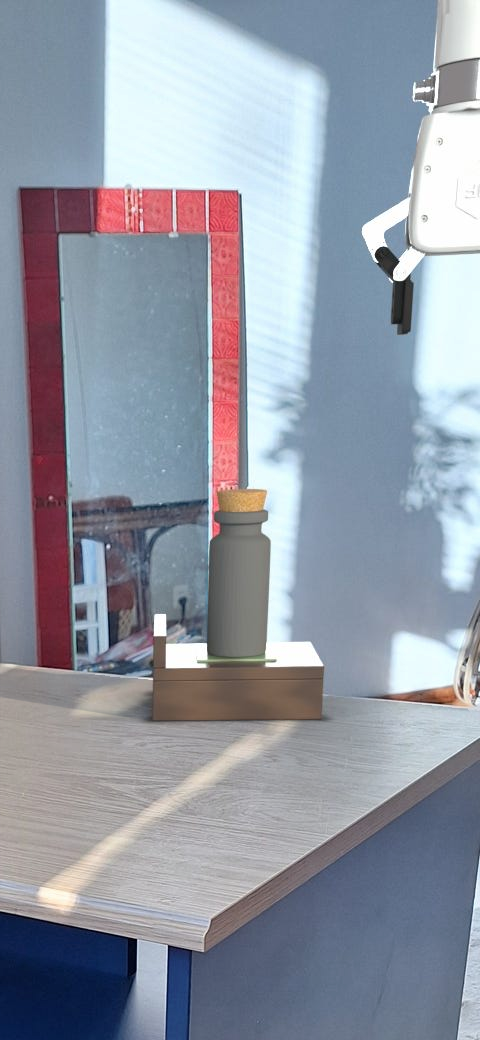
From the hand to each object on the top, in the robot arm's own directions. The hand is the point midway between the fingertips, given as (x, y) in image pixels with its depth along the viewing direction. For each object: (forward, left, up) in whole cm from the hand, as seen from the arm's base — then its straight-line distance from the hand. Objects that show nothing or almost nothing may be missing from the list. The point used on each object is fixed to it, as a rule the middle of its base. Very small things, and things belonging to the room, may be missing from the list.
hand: (461, 331), depth 124 cm
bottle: (+18, -8, -28) cm, 34 cm away
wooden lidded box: (+18, -8, -33) cm, 38 cm away
